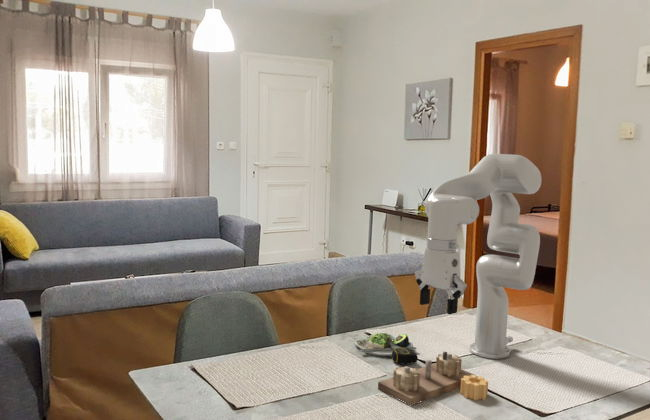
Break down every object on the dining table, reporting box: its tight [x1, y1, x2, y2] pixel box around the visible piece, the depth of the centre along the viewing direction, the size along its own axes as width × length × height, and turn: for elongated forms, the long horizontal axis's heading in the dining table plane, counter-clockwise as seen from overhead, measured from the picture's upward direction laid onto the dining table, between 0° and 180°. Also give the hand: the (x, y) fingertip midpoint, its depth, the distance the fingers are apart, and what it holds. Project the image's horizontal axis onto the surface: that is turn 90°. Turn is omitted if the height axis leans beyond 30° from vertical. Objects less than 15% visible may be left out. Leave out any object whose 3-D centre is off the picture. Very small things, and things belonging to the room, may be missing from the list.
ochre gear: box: [459, 374, 489, 401], centre depth 155 cm, size 7×7×4 cm
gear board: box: [377, 351, 475, 406], centre depth 159 cm, size 26×12×8 cm, turn 128°
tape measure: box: [391, 347, 418, 365], centre depth 176 cm, size 7×7×4 cm
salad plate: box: [354, 332, 417, 357], centre depth 187 cm, size 19×18×5 cm
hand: (437, 308), depth 154 cm, fingers open, 9 cm apart
